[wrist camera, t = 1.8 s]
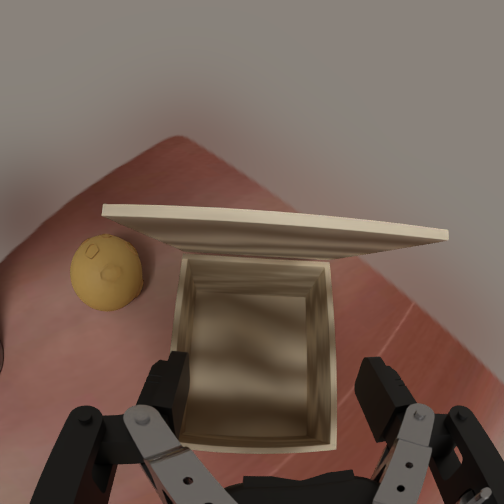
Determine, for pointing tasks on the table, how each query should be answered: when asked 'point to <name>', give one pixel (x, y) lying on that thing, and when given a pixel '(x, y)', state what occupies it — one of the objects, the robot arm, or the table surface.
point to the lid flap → (268, 231)
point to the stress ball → (106, 272)
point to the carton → (257, 354)
